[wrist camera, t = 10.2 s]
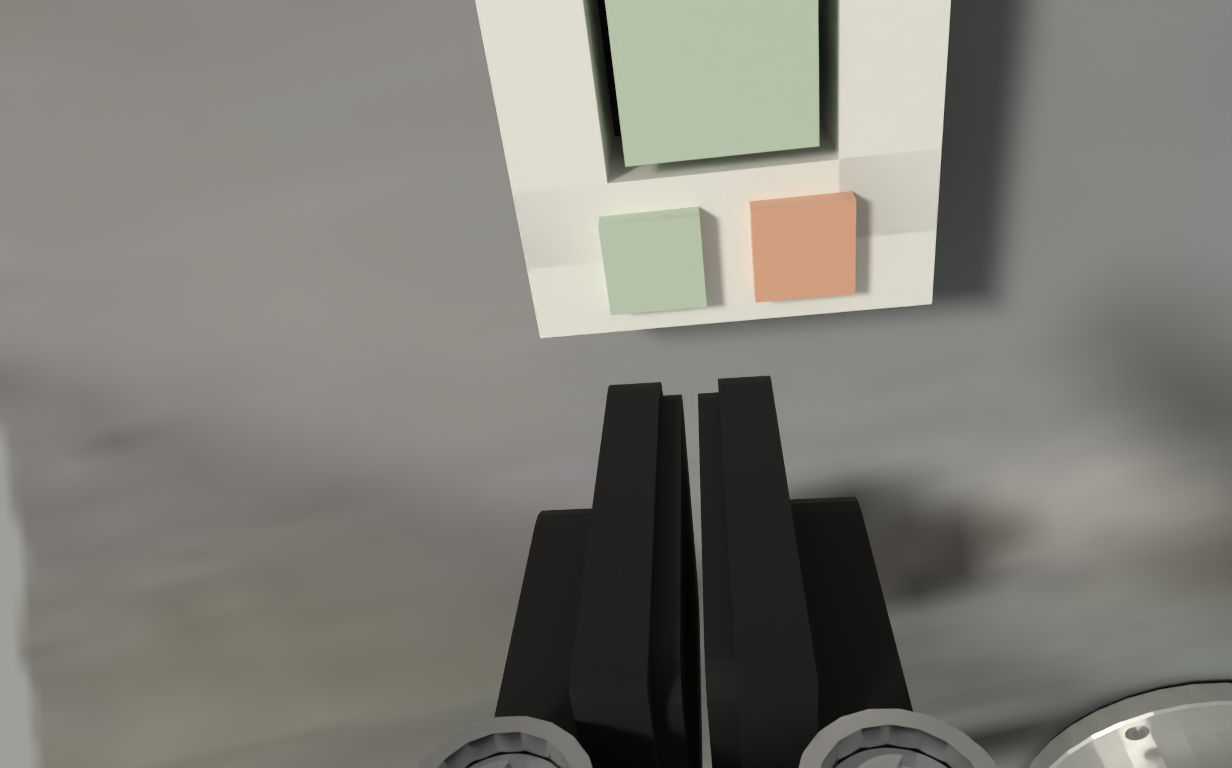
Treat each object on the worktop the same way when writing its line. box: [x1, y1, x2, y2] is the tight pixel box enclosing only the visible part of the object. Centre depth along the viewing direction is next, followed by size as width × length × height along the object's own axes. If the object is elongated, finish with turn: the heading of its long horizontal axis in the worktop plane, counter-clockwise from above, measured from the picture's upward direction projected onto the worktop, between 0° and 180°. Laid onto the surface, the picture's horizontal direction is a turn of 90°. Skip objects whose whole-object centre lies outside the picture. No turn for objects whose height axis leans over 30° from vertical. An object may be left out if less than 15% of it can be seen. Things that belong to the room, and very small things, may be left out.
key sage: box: [605, 0, 819, 167], centre depth 21 cm, size 4×4×4 cm
